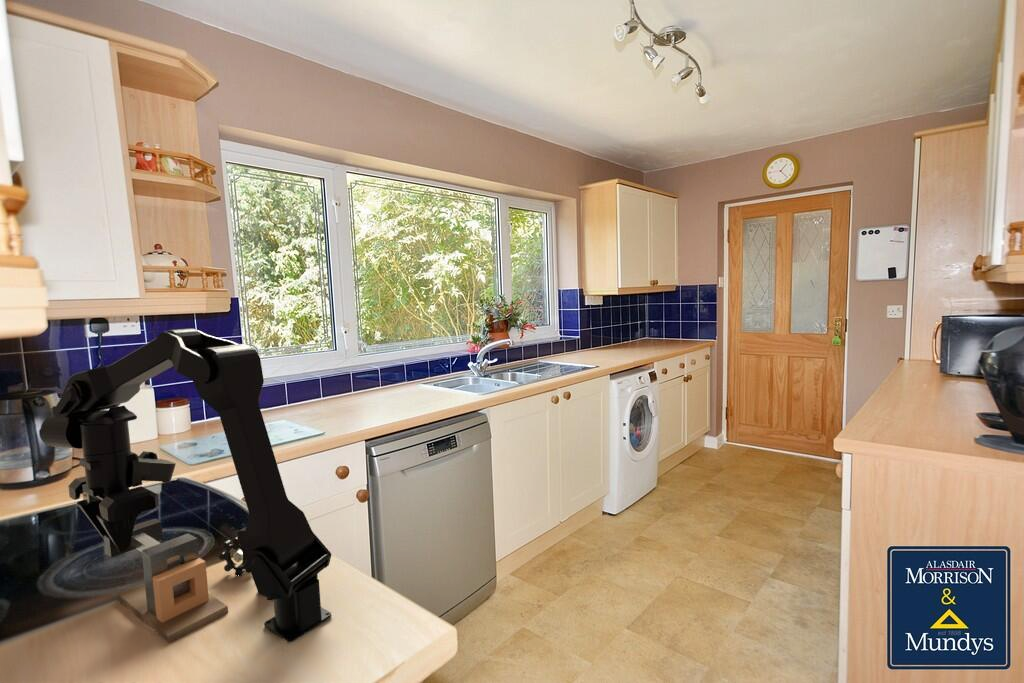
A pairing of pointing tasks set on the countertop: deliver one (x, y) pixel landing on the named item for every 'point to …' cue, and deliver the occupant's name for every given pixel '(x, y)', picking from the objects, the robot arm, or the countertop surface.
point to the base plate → (177, 624)
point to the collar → (196, 596)
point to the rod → (142, 540)
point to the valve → (234, 557)
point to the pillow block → (157, 564)
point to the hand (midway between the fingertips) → (117, 546)
